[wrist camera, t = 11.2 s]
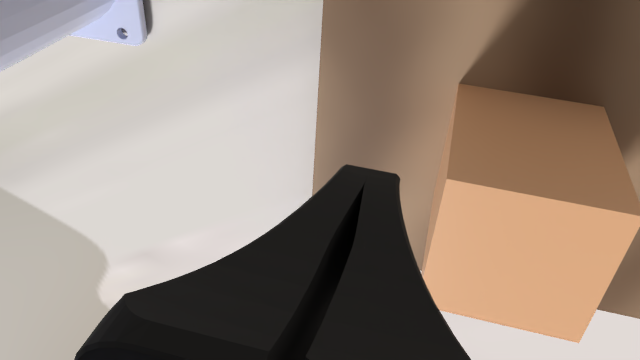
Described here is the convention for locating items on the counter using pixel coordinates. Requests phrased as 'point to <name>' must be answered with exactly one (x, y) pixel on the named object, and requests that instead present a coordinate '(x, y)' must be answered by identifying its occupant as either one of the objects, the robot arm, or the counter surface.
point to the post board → (476, 70)
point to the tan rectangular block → (528, 212)
